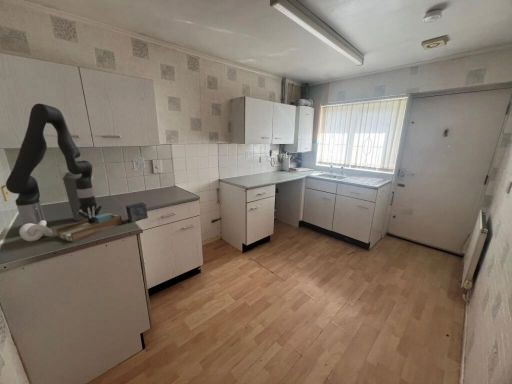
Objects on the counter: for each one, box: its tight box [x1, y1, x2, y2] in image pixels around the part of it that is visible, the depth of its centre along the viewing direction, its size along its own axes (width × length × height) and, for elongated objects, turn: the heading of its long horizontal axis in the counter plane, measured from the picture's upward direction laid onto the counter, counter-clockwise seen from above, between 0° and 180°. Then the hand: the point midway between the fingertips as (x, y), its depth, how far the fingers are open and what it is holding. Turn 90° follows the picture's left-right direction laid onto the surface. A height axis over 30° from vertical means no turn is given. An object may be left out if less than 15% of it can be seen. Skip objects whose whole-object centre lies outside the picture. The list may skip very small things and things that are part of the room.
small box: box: [125, 202, 149, 223], centre depth 140 cm, size 11×6×10 cm, turn 141°
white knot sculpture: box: [18, 219, 53, 242], centre depth 113 cm, size 11×12×9 cm
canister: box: [62, 171, 88, 222], centre depth 137 cm, size 13×13×35 cm
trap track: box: [55, 212, 123, 243], centre depth 124 cm, size 14×27×5 cm, turn 158°
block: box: [95, 212, 111, 224], centre depth 129 cm, size 5×7×4 cm
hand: (92, 223), depth 124 cm, fingers closed
